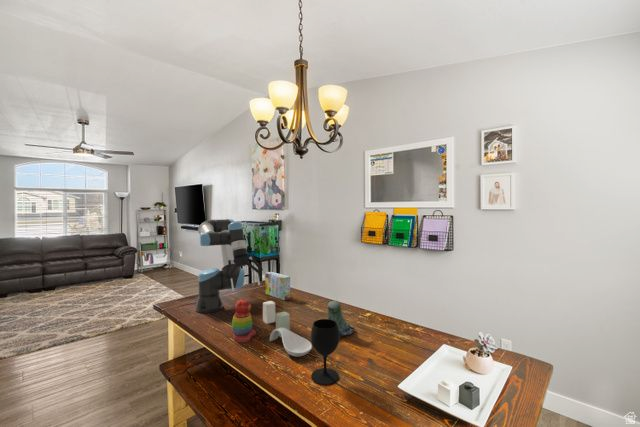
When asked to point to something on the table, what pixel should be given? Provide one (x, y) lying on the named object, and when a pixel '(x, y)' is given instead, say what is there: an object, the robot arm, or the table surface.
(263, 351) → the table surface
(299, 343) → the spoon rest
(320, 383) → the wine glass
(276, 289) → the snack box
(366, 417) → the table surface
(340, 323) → the tree stump
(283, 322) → the sage-green block
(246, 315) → the stacking bear
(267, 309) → the off-white block
